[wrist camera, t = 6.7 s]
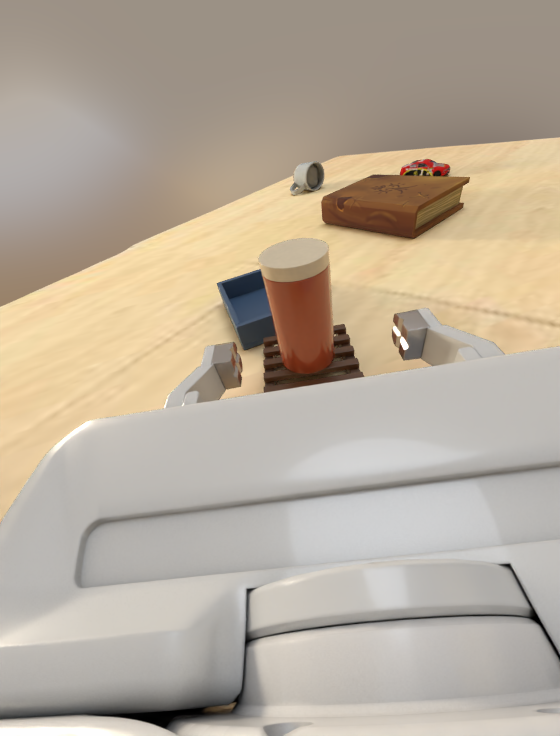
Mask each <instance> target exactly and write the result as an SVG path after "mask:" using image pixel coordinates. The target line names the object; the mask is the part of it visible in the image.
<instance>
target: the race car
mask: <svg viewBox="0 0 560 736" xmlns="http://www.w3.org/2000/svg"><path fill="white" fill-rule="evenodd" d="M449 171H450V166H449V165H447V164H442V163H436V162H435V161H432V160H430V159H423V160H417V161H414V162H412V163H410V164H407V165H405V166H403V167H402V169H401V172H400V175H405V176H443V175H446V174H448V173H449Z"/></svg>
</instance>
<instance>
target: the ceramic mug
mask: <svg viewBox="0 0 560 736" xmlns="http://www.w3.org/2000/svg"><path fill="white" fill-rule="evenodd" d="M293 180H294V184H293V185H292V186H291V188H290V191H291V193H292V194H293V195H297V194H299V193H301V192H302V191H304V190H311V191H316V190H318V189H319V188H320V187H321V186H322V184H323V181H324V169H323V167H322V165H321V164H320V163H319V162H316V161H314V162H309V163H302V164H300V165H298V166H297V167H296V169H295V171H294V174H293ZM296 187H298V189H296V190H295V188H296Z"/></svg>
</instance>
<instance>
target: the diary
mask: <svg viewBox="0 0 560 736" xmlns="http://www.w3.org/2000/svg"><path fill="white" fill-rule="evenodd" d="M469 179H470V177H442V176H405V175H372V176H369V177H367V178H365V179H363V180H360V181H358V182H356V183H354V184H351V185H349V186H347V187H345V188H342V189H340V190H338V191H336V192H333V193H331V194H329V195H327V196H324V197H323V200H322V202H321V204H322V220H323V221H324V222H325V223H329V224H335V225H340V226H346V227H352V228H357V229H363V230H369V231H374V232H380V233H386V234H392V235H397V236H403V237H409V238H415V237H417V236H419V235H420V234H422V233H423V232H425V231H427V230H428V229H430V228H431V227H433V226H435V225H436V224H438V223H439V222H441V221H442V220H444V219H446V218H447V217H449V216H450V215H452V214H454V213H455V212H457V211H458V210H460V209H461V208H463V204H464V203H459V201H460V197H461V192H462V188H463V186H464V185H465V184H467V183H469Z"/></svg>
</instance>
